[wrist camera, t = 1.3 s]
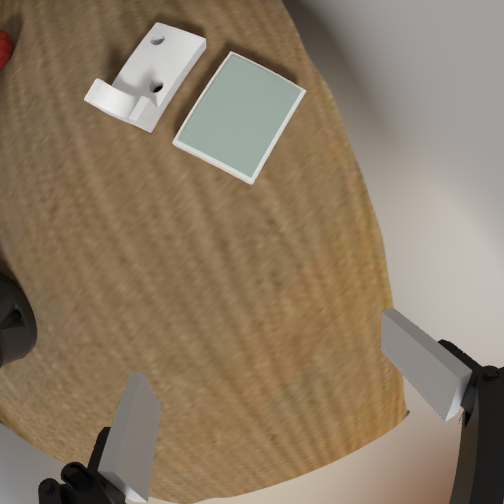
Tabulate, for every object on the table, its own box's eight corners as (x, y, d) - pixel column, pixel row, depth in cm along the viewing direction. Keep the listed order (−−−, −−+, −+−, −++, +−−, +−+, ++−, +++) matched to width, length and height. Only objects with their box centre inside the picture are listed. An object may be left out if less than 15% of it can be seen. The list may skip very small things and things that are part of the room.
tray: (176, 146, 31) (171, 142, 28) (229, 61, 29) (231, 50, 26) (249, 184, 33) (252, 184, 30) (299, 97, 31) (307, 90, 28)
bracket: (152, 134, 30) (136, 121, 23) (108, 114, 29) (83, 99, 22) (206, 51, 28) (204, 22, 21) (161, 34, 27) (150, 5, 20)
